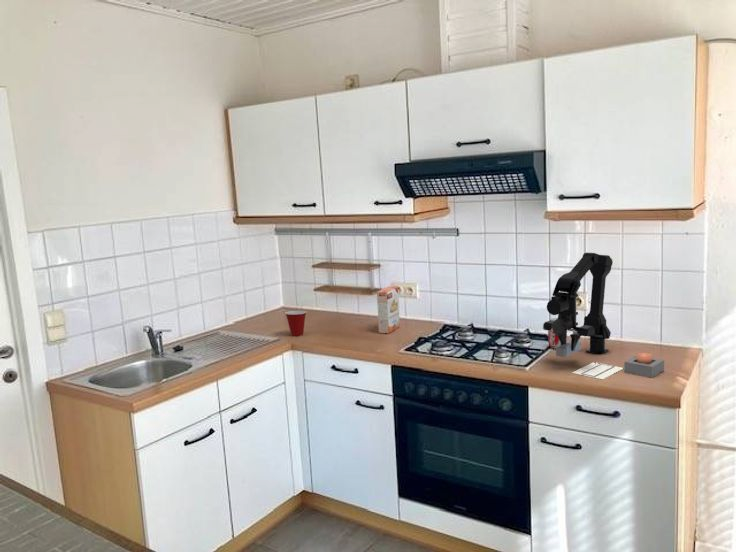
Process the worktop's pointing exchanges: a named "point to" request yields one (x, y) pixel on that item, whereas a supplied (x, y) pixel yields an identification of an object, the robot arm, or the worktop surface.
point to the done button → (644, 358)
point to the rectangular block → (566, 349)
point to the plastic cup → (296, 322)
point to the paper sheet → (598, 370)
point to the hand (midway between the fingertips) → (568, 349)
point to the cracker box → (388, 309)
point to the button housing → (644, 367)
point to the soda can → (553, 338)
